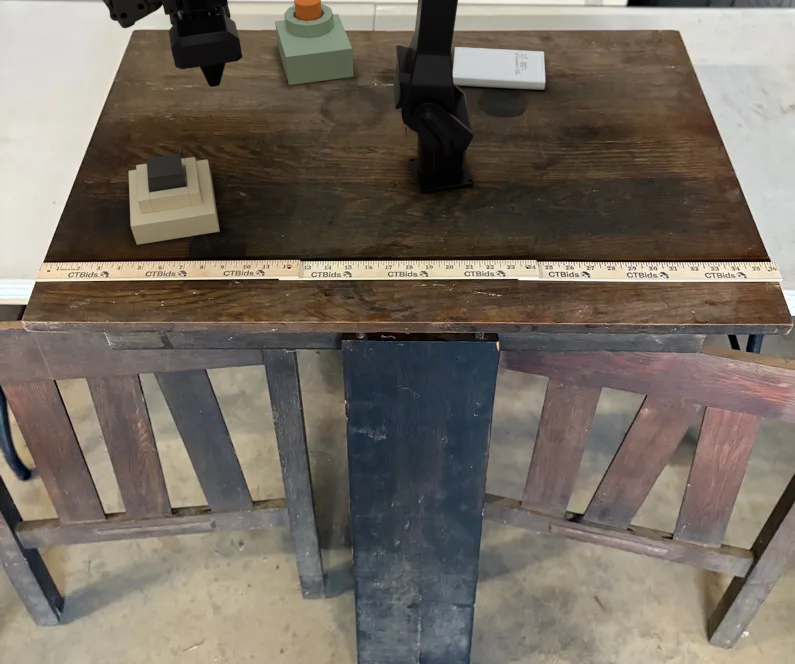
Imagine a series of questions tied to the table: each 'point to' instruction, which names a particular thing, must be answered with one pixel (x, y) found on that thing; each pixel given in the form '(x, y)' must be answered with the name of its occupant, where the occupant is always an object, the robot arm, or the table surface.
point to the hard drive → (499, 68)
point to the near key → (165, 172)
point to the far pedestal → (314, 48)
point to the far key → (308, 9)
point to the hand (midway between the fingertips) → (214, 84)
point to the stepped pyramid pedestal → (173, 205)
